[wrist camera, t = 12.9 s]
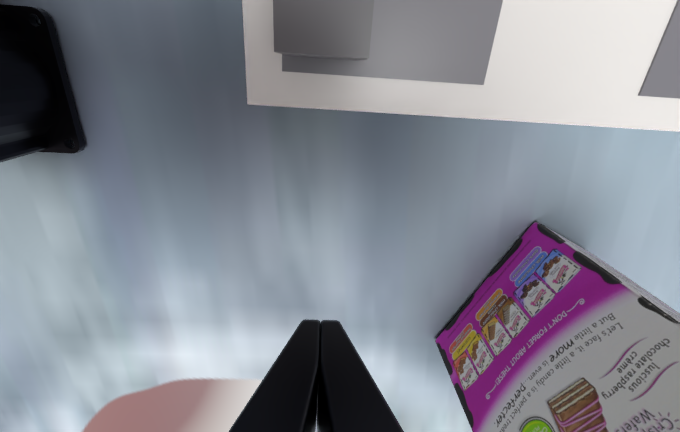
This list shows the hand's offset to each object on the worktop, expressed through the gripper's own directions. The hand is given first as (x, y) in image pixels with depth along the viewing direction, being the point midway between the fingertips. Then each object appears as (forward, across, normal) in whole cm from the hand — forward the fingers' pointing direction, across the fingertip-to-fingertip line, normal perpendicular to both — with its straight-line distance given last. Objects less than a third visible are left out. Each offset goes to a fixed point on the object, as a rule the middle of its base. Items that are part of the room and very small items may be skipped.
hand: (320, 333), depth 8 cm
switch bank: (+12, -10, -8) cm, 17 cm away
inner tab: (+9, 0, -7) cm, 11 cm away
